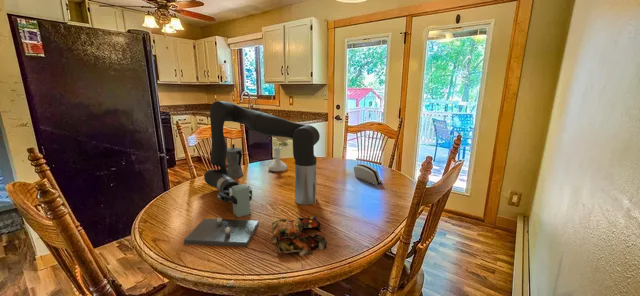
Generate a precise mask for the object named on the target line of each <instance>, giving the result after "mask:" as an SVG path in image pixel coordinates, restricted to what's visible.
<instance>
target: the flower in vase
mask: <svg viewBox="0 0 640 296" xmlns="http://www.w3.org/2000/svg"><path fill="white" fill-rule="evenodd" d="M274 137H275V139H276V141H278V142H280V144H278V143H275V142H273V144H274V145H276V146H274V147H273V150H274V152H275V160H274V161H273V162H271V163H270V164H269V166H268V170H269V171H271V172H283V171H286V170H287V169H288V166H287V164H286V163H284V162H283V161H282V160H281V158H280V154H281V150H282V147H281V145H282V146H283V147H287V146H289V144H288V143H287V141H289V138H288V137H278V136H274Z"/></svg>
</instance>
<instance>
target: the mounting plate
mask: <svg viewBox="0 0 640 296" xmlns="http://www.w3.org/2000/svg"><path fill="white" fill-rule="evenodd" d="M259 222H260V220H254V219H253V220H251V219H250V220H249V219H229V218H228V219H226V218H225V219H224V218H223V217H222V216H217V217H216V218H203V219H202V220H201V221H200V222H199V223H198V224H197V225H196V227H194V228H193V230H192V231H191V232H190V233H189V234H188V235H187V236H186V237H185V238H184V239H183V244H184V245H197V246H217V247H218V246H219V247H220V246H222V247H225V246H226V247H246V248H247V247H248V245H249V243H250V241H251V240H252V238H253V236H254V234H255V232H256V231H257V228H258V226H259V224H260V223H259Z"/></svg>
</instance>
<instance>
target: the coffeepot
mask: <svg viewBox="0 0 640 296" xmlns="http://www.w3.org/2000/svg"><path fill="white" fill-rule="evenodd" d="M235 146H236V145H235V143H234V144H231V147H227V156H226V163H227V172H228V176H229V177H230V178H232V179H237V178H241V177H244V174H243V173H244V172H243V168H242V159H243V158H242V157H243V153H242V152H243V149H242V148H241V147H235Z"/></svg>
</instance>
